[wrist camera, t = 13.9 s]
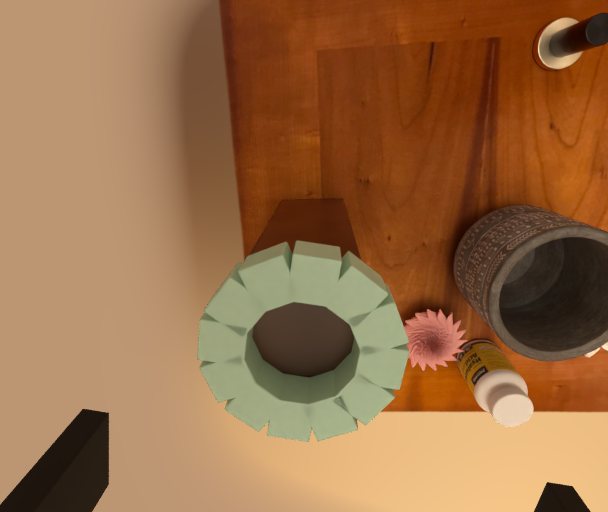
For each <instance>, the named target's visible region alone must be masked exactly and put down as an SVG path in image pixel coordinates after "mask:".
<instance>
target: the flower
mask: <svg viewBox="0 0 608 512" xmlns="http://www.w3.org/2000/svg"><path fill="white" fill-rule="evenodd" d="M415 315H416V316H415V317H412V319H409V320H405V322H406V323H407V324H406V325H405V326H404V328H405V331H406V334H407V337H408V340H409V343H406V344H407V347H408V349H409V355H408V359H409V358H410V359H411V364H412V368H413V367H414V366H415V365H416V364H417V362H418V363H419V365H420V366H421V368H422V370H423V371H424V370H425V367H426V363H427V364H428V365H429V366H430V367H431V368H432V369H433V370H436V364H439V365H443V366H445V367H448V366H447V364H446V362H445V361H444V360H446V361H457V359H456V358H455V357H453V356H452V355H453V354H455V353H459V352H465V351H464V350H462V349H459V348H458V347H459V346H460V345H462V344H463V343H464V342H467V341H468V340H459V339H460V338H461V337H462V335H463V334H464V333H465V331H466V329H464V330H461V331H458V332H457V330H458V327H459V325H460V323H461V320H459V321H457V322H456V323H454V324H453V321H452V316H453V313H450V315H449V316H448V318H446V317H445V315H444V314H443V313H442V311H441V309H440V310H439V312H438V313H437V312H433V311H430V310H429V309H427V312H424V311H423V312H422V313H415Z"/></svg>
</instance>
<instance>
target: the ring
mask: <svg viewBox="0 0 608 512" xmlns="http://www.w3.org/2000/svg"><path fill="white" fill-rule="evenodd" d="M292 302H298V303H305V304H312V305H318V306H325V307H327V308H328V309H329V310H331V311H332V312H333V313H335V314H336V315H337V316H339V317H340V318H341V319H343V320H344V321H345V322H347V323H348V324H349V325H350V327H351V330H352V332H353V335H354V341H353V346H352V351H351V353H350V354H349V355H348V356H347V357H346V358H345V359H344V360H343V361H342V362H341V363H340V364H339V365H338V366H337V367H336V368H335V369H334V370H332V371H329V372H326V373H323V374H319V375H316V376H313V377H310V378H309V377H302V376H296V375H289V374H283V373H282V372H280V371H279V370H277V369H276V368H275V367H273V366H272V365H270V364H269V363H267V362H266V361H265V360H263V359H262V356H261V354H260V352H259V350H258V348H257V346H256V344H255V342H254V340H253V338H252V335H253V327H254V325H255V324H256V323H257V322H258V320H259V319H260V318H261V317H262V316H263V314H264V313H265V312H266V311H269V310H272V309H275V308H278V307H281V306H283V305H286V304H289V303H292ZM204 312H205V313H204V314H203V316H202V318H201V319H200V325H199V340H198V355H197V359H198V360H203V362H202V364H201V366H200V370H201V372H202V374H203V376H204V378H205V379H206V381H207V383H208V385H209V387H210V389H211V391H212V392H213V394H214V396H215V398H216V400H217V402H218V403H219V402H223V401H226V400H228V401H227V404H226V407H225V410H226V411H228V412H229V413H231V414H232V415H234V416H235V417H237V418H238V419H240V420H241V421H243V422H244V423H246V424H247V425H249V426H250V427H252V428H253V429H255V430H256V431H260V430H261V429H262V428H263V427H264V426H265V425H266V424H267V423H268V422H269V424H268V432H267V435H268V436H273V437H280V438H286V439H293V440H299V441H306V442H309V440H310V434H311V429H312V430H313V432H314V434H315V436H316V438H317V440H318V441H321V440H324V439H328V438H331V437H335V436H338V435H342V434H345V433H349V432H352V431H355V430H357V429H358V425H357V420H359V421H360V422H362V423H363V424H364V425H367V424H368V423H369V422H370V421H371V420H372V419H373V418H374V417H375V416H376V415H377V414H378V413H379V412H381V411H382V410H383V409H384V408H385V407H386V406H387V405H388V404H389V403H390V402H391V401H392V400H393V399H394V398H395V396H394V392H393V389H396V390H399V389H400V386H401V382H402V378H403V375H404V371H405V367H406V363H407V359H408V355H409V349H408V347H407V344H406V343H409V340H408V337H407V334H406V331H405V328H404V326H403V323H402V320H401V317H400V315H399V312H398V309H397V306H396V303H395V301H394V299H393V296H392V294H391V292H390V289H389V287H388V285H387V284H384V281H383V279H382V277H381V276H380V275H379V274H378V273H377V272H375V271H374V270H373V269H372V268H370V267H369V266H368V265H366V264H365V263H364V262H363V261H361V260H360V259H359V258H358V257H356V256H355V255H354V254H352V253H351V252H350V251H348V252H347V253H346V254H345V255H344V256H343V257H342V258H341V252H340V247H338V246H331V245H324V244H318V243H311V242H304V241H298V240H297V241H296V243H295V247H294V251H293V255H292V252H291V250H290V247H289V245H288V243H287V242H284V243H281V244H278V245H276V246H273V247H270V248H268V249H265V250H262V251H260V252H257V253H254V254H252V255H249V256H247V258H246V259H245V261H244V263H243V264H242V263H241V262H239V263H238V264H237V265H236V267H235V268H234V269H233V270H232V272H231V273H230V274H229V276H228V277H227V278H226V279H225V281H224V282H223V283H222V285H221V286H220V287H219V288H218V290H217V291H216V292H215V294H214V295H213V297H212V298H211V300H210V301H209V303H208V304H207V306H206V307H205V309H204Z"/></svg>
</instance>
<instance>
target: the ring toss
mask: <svg viewBox="0 0 608 512" xmlns="http://www.w3.org/2000/svg"><path fill="white" fill-rule="evenodd" d="M607 42H608V13H600V14H597V15H595V16H592V17H590V18H588V19H585V20H583V21H581V22H578V21H577V20H575V19H573V18H560V19H557V20H555V21H553V22H551V23H549V24H547V25H546V26H545V27H543V28H542V29H541V31H540V32H539V33H538V35H537V37H536V39H535V41H534V45H533V55H534V59H535V61H536V62H537V64H538V65H539V66H540V67H542V68H543V69H546V70H551V71H554V70H559V69H563V68H566V67H568V66H570V65H572V64H573V63H574V62H575V61H576V60H577V59H578V58H579V57H580V55H581V54H582V52H583V51H585V50H588V49H591V48H595V47H598V46H601V45H604V44H606V43H607Z"/></svg>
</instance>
